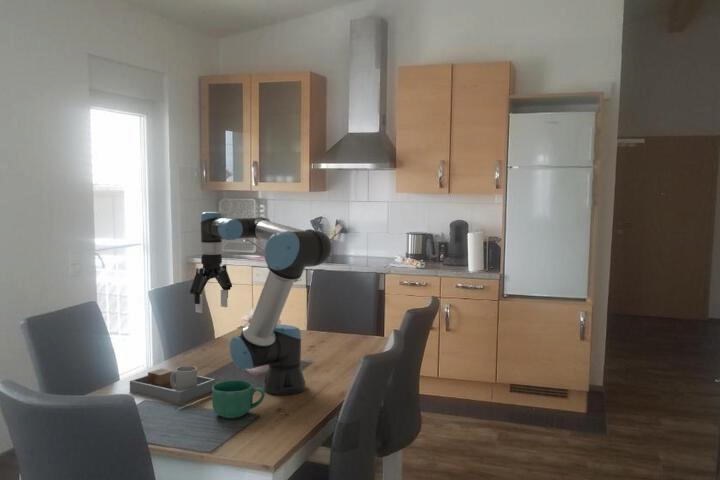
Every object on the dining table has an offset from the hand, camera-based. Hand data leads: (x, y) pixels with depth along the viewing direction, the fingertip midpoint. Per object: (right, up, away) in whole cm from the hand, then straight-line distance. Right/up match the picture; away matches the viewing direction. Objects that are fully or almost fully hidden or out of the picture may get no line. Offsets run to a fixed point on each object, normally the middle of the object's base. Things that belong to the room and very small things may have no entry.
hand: (211, 309), depth 233 cm
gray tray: (-10, -28, -14) cm, 33 cm away
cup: (-6, -28, -17) cm, 33 cm away
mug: (+17, -30, -35) cm, 49 cm away
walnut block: (-16, -27, -11) cm, 33 cm away
